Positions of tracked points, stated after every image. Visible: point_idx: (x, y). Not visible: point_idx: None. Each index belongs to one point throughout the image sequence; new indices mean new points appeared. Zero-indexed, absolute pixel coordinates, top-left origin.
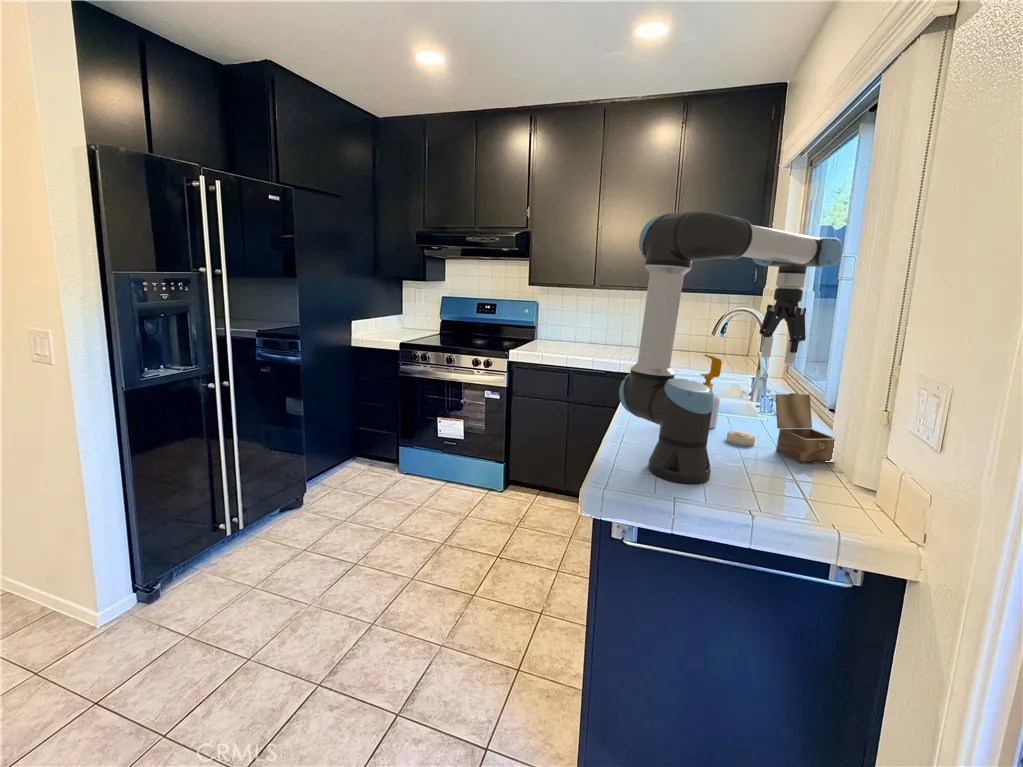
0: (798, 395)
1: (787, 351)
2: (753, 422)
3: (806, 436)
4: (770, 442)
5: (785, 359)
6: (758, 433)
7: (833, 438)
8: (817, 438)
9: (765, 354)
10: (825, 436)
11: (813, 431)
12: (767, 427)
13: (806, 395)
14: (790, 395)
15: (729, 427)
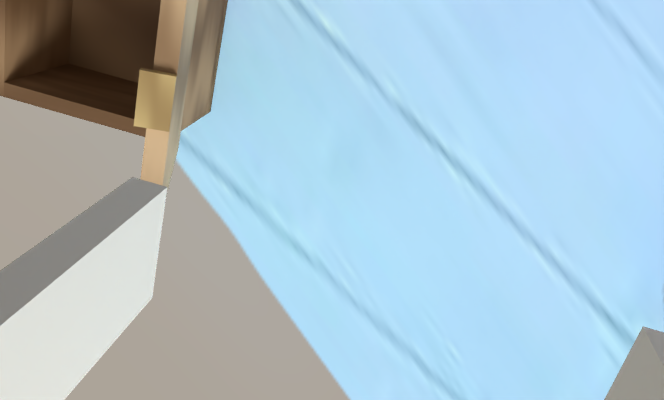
0: (146, 139)
1: (41, 257)
2: (645, 288)
3: None
4: (354, 39)
5: (134, 203)
6: (490, 121)
7: (4, 78)
8: (119, 102)
9: (638, 390)
10: (60, 95)
11: None
12: (544, 274)
13: None
14: (154, 63)
15: (650, 47)
